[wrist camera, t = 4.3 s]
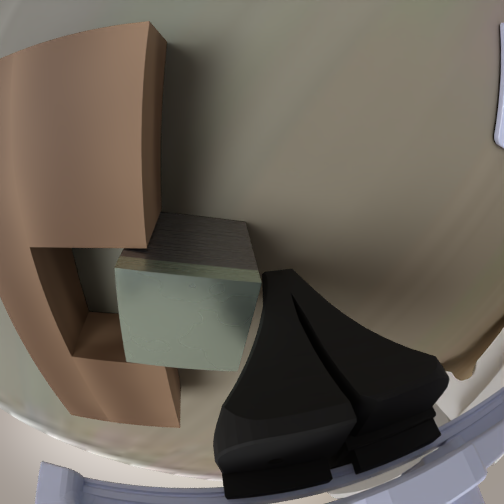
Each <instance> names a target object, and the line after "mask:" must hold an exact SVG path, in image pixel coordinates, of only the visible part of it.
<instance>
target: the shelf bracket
mask: <svg viewBox="0 0 504 504" xmlns="http://www.w3.org/2000/svg"><path fill="white" fill-rule="evenodd" d="M446 373H447V374H448V376H449V379H450V380H449V384H448V387H447V388H446V390H445V391H444V393H443V394H442V395H441V397H440V398H439V399H438V400H437V402H436V404H437V405H438V406H439V408H440V409H441V410H442V411H443V412H444V413H445V414H446V415H447V416H448V418H449V419H450V420H453V419H455V418H457V417H458V416H460V415H462V414H463V413H465V412H467V411H468V410H470V409H472V408H473V407H475V406H476V405H478V404H479V403H481V402H482V401H484V400H485V399H487V398H488V397H490V396H491V395H493V394H494V393H496V392H497V391H498V390H500V389H501V388H502V387H504V328H503V329H502V330H501V332H500V333H499V334H498V336H497V337H496V338H495V340H494V341H493V342H492V343H491V345H490V346H489V347H488V348H487V350H486V351H485V352H484V353H483V354H482V356H481V357H480V358H479V359H478V360H477V362H476V365H475V367H474V369H473V374H472V376H471V377H470V378H469V379H466V380H463V381H460V380H458V379H456V378H455V377H454V375H453V374H452V372H448V371H446ZM503 455H504V454H503ZM503 455H502V456H503ZM502 456H500V457H499V458H498V459H497V460H496V461H495V462H494V463H493V464H492V465H494V464H495V463H497V461H498V460H499V459H500V458H501V457H502ZM492 465H490V466H492Z"/></svg>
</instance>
